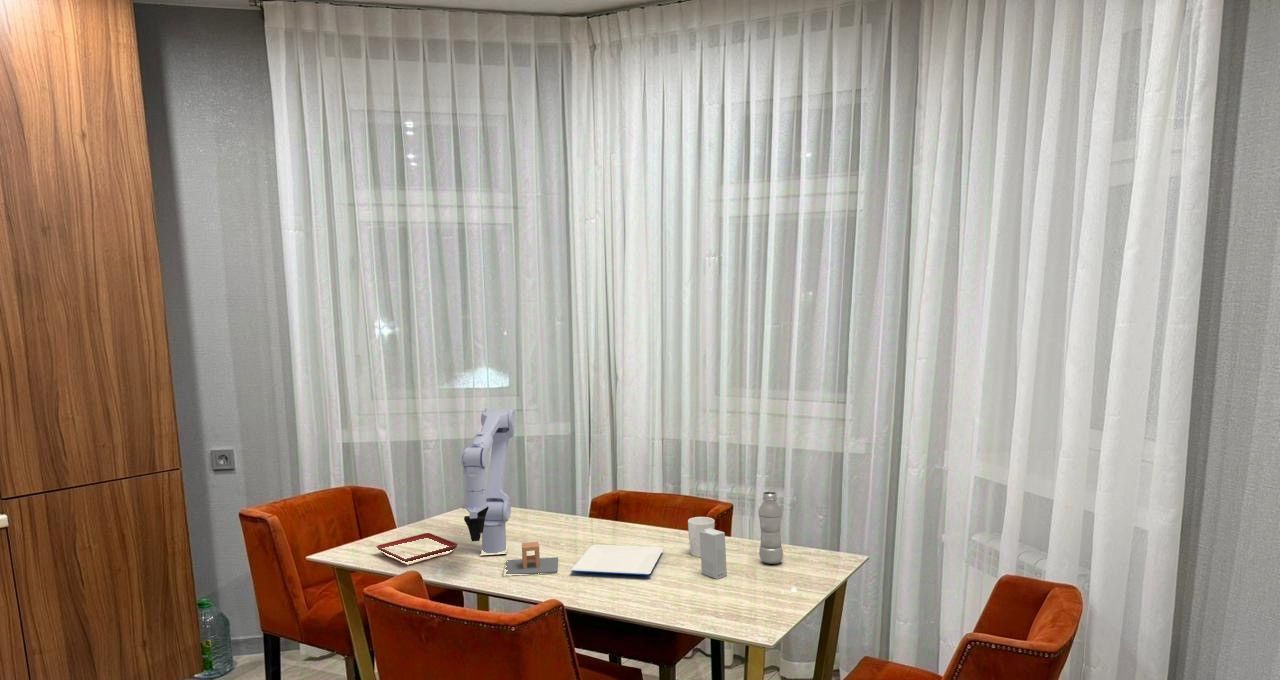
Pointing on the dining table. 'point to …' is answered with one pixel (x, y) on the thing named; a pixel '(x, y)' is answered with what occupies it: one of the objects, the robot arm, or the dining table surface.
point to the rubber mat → (532, 566)
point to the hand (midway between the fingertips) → (477, 536)
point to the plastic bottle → (770, 529)
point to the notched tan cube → (533, 558)
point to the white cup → (698, 532)
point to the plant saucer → (417, 537)
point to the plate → (618, 559)
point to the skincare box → (713, 553)
